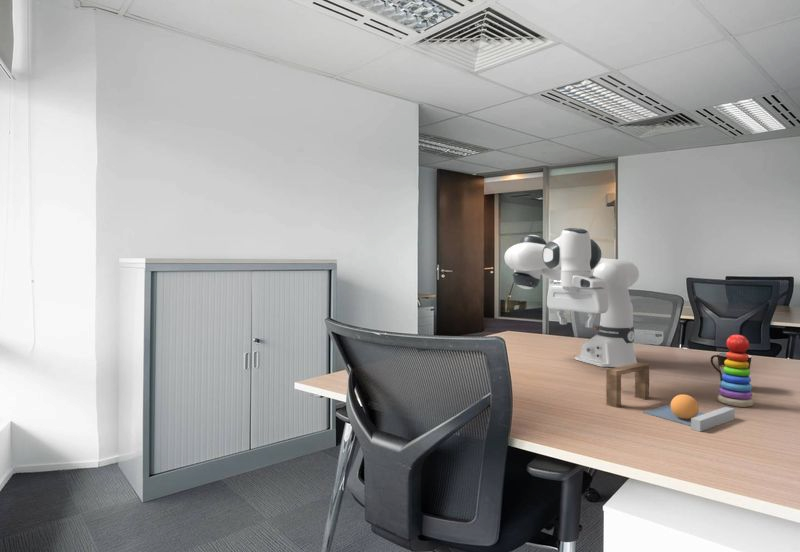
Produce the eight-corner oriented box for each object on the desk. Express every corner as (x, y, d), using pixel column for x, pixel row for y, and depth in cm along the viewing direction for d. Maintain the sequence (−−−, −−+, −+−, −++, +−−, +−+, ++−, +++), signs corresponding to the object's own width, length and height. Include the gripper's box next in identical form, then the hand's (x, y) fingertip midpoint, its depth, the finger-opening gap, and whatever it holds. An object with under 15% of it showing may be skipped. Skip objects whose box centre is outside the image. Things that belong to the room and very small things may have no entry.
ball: (689, 426, 115) (664, 416, 120) (702, 420, 118) (677, 411, 123) (691, 402, 114) (666, 393, 119) (705, 397, 117) (680, 389, 122)
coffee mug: (757, 392, 141) (757, 358, 141) (724, 390, 143) (724, 357, 143) (737, 382, 153) (738, 350, 152) (707, 381, 154) (708, 350, 154)
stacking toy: (743, 409, 126) (744, 338, 125) (711, 401, 133) (712, 334, 132) (759, 405, 129) (760, 335, 129) (727, 397, 136) (728, 331, 136)
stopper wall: (691, 429, 112) (691, 418, 112) (725, 416, 120) (725, 406, 120) (700, 431, 110) (700, 420, 110) (734, 418, 118) (734, 408, 118)
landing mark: (642, 412, 124) (642, 411, 124) (669, 404, 130) (669, 404, 130) (691, 426, 114) (691, 425, 114) (717, 417, 120) (717, 416, 120)
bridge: (606, 404, 131) (606, 369, 131) (639, 395, 139) (639, 362, 139) (616, 407, 129) (616, 371, 128) (649, 398, 137) (649, 364, 136)
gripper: (542, 280, 155) (542, 323, 155) (597, 282, 138) (597, 330, 138) (555, 279, 158) (555, 321, 159) (611, 281, 141) (611, 328, 141)
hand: (575, 325), depth 148 cm, fingers open, 8 cm apart
